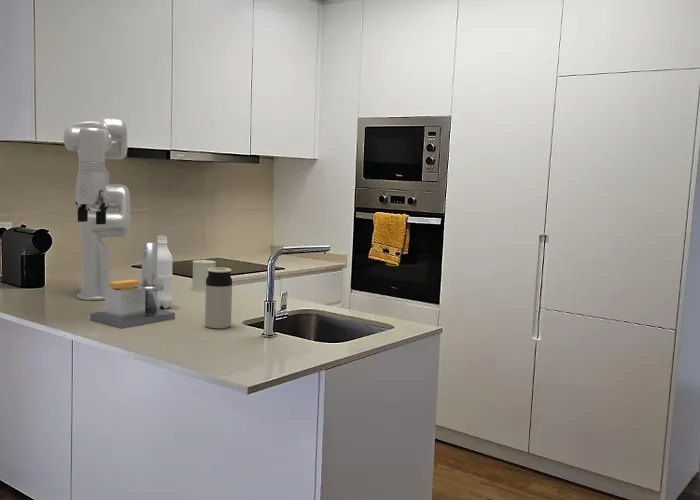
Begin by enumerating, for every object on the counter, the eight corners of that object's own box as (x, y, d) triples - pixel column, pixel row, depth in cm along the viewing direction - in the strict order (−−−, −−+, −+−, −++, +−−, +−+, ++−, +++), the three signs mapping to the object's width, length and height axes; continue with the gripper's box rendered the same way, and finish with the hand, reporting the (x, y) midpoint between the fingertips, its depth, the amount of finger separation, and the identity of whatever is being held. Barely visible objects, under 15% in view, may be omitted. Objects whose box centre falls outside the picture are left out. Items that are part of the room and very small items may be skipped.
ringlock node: (90, 319, 215) (90, 243, 213) (145, 311, 232) (145, 240, 229) (121, 328, 206) (122, 248, 203) (176, 318, 222) (177, 244, 220)
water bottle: (176, 307, 241) (177, 235, 238) (164, 310, 234) (165, 237, 231) (158, 304, 243) (159, 234, 240) (146, 308, 236) (147, 235, 234)
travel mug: (218, 330, 209) (220, 271, 207) (199, 326, 213) (200, 268, 211) (236, 326, 216) (237, 269, 214) (217, 322, 220) (218, 266, 218)
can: (187, 290, 275) (187, 260, 273) (200, 287, 283) (201, 258, 282) (206, 292, 271) (207, 262, 270) (219, 289, 280) (220, 260, 278)
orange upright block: (108, 315, 214) (108, 282, 212) (131, 311, 220) (131, 279, 219) (115, 317, 211) (115, 283, 210) (138, 313, 218) (139, 281, 217)
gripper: (64, 166, 216) (65, 221, 218) (97, 168, 205) (97, 225, 207) (86, 167, 222) (86, 220, 224) (119, 169, 212) (118, 224, 213)
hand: (91, 222), depth 216 cm, fingers open, 9 cm apart
